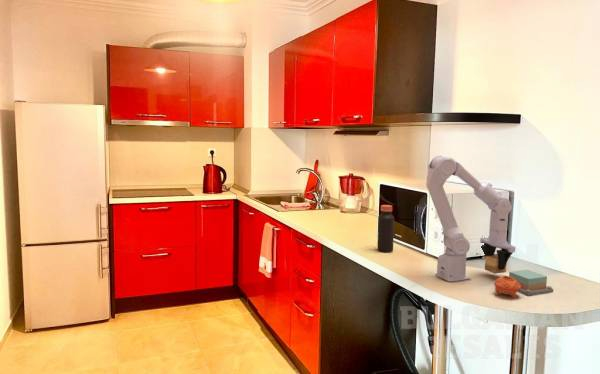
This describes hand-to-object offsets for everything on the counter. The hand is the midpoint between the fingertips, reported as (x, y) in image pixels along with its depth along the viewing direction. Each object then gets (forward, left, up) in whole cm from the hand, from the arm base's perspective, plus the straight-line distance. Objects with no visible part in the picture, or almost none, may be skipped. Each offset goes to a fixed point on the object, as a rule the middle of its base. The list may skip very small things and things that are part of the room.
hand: (495, 267), depth 164 cm
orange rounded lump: (-10, -15, -4) cm, 19 cm away
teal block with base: (+1, -13, -4) cm, 14 cm away
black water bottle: (-18, +45, -4) cm, 49 cm away
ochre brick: (0, 0, -2) cm, 2 cm away
